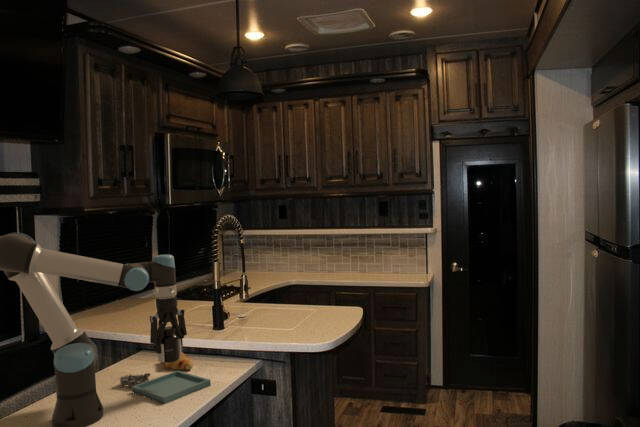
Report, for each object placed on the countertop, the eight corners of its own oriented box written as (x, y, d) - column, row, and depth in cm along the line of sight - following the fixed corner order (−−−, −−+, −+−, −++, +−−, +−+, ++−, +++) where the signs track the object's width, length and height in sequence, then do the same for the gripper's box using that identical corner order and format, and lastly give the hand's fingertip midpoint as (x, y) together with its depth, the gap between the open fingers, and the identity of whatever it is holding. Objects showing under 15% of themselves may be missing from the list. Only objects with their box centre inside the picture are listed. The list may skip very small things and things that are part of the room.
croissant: (197, 377, 213) (204, 357, 215) (179, 372, 205) (186, 352, 208) (166, 367, 225) (172, 349, 228) (148, 363, 218) (154, 344, 221)
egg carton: (152, 383, 198) (152, 373, 198) (137, 390, 192) (137, 379, 191) (132, 380, 203) (131, 370, 203) (117, 387, 196) (116, 376, 196)
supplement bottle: (167, 364, 185) (165, 331, 185) (157, 360, 190) (155, 328, 190) (183, 359, 190) (181, 326, 190) (173, 355, 195) (171, 324, 195)
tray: (164, 404, 176) (164, 397, 176) (132, 392, 189) (131, 386, 189) (210, 385, 192) (210, 379, 192) (177, 376, 205) (177, 370, 204)
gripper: (148, 303, 179) (152, 368, 180) (194, 292, 195) (198, 352, 196) (136, 301, 184) (140, 364, 185) (182, 291, 199) (186, 350, 200)
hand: (170, 358), depth 190 cm, fingers closed on supplement bottle, 7 cm apart
